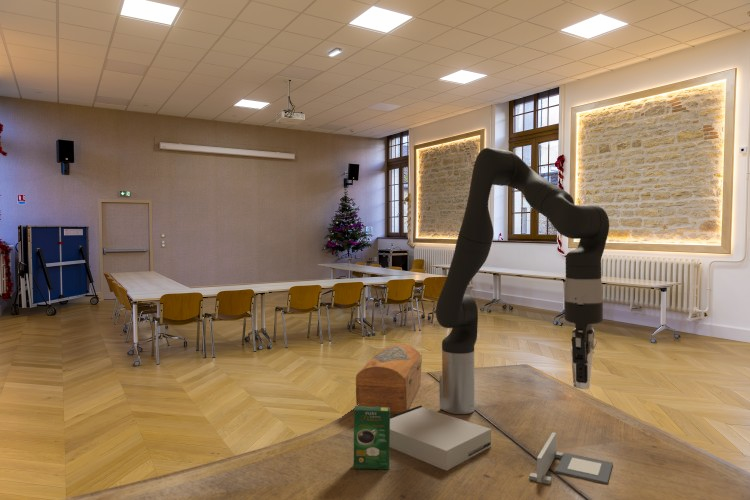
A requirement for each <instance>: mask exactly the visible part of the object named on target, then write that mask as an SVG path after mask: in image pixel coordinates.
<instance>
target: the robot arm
mask: <svg viewBox="0 0 750 500" xmlns="http://www.w3.org/2000/svg"><path fill="white" fill-rule="evenodd" d="M493 185H494V186H500V187H503V186H506V187H510V188H512V189H515V190H517V191H519V192H521V193H522V194H523V197H524V199H525V201H526V202H527V203H528V204H529V206H530V207H531V208H532V209H534V210H535V211H537V212H538V213H539V214H541V215H542V216H544V217H545V218H547V219H548V222H550V224H551V225H552V226H553V227H554V229H555V230H556V231H557V232H558V233H559V234H560V235H561V236H564V237H566V238H568V239H574V240H578V239H579V242H578V246H577V248H575V249H573V250H570V251H568V252H567V254H566V256H565V281H564V288H563V289H564V295H563V297H564V320H565V321H566V322H568V323H571V324H572V323H573V324H574V325H575V328H574V330H572V332H571V339H570V340H571V347H572V351H573V363H575V364H576V381H577V382H580V383H587V381H588V363H589V362H588V355H589V354H590V353H591V348H592V349H593V348H594V346H595V341H594V339H595V337H596V331H595V328H594V327H592V325H597V324H601V323H602V322H603V320H604V319H603V318H604V314H603V313H604V312H603V311H604V307H603V305H604V304H603V303H604V299H603V297H604V292H603V289H604V288H603V283H602V257H603V254H604V250H605V248H606V243H607V240H608V236H609V231H610V219H609V215H608V213H607V212H606V211H605V209H604V208H603V207H601V206H597V205H583V204H582V205H580V204H579V205H577V204H575V201H574V198H573V197H572V195H571V194H569V192H567V191H566V190H564V189H562V188H560V187H559V186H557V185H556V184H554V183H552V182H551V181H549V180H547V179H546V178H544V177H542V176H541V175H540V174H538V173H537V172H536V171H535V170H534V169H533V168H531V167H530V166H529V165H528V164H527V163H526V162H525V161H524V160H523V159H522V158H521V157H520V156H519V155H517V154H516V153H514V152H513V151H510V150H507V149H500V148H494V147H484V148H483V149H481V151H479V153H478V154H477V156H476V158H475V161H474V164H473V169H472V173H471V180H470V186H469V192H468V198H467V202H466V206H465V209H464V210H465V211H464V215H463V218H462V223H461V225H460V226H461V227H460V229H459V232H458V237H457V240H456V243H455V247H454V252H453V255H452V259H451V263H450V266H449V269H448V271H447V275H446V278H445V280H444V283H443V286H442V289H441V292H440V294H439V296H438V299H437V302H436V307H435V317H436V320H437V323H438V324H439V325H440V326H441V327H442V328H446V329H451V330H450V332H449V334H448V335H447V336H446V337H445V338H443V339H442V342H441V368H442V369H441V371H442V372H441V375H440V376H439V410H443V411H444V412H446V413H449V414H454V415H467V414H472V413H474V411H475V410H476V409H475V408H476V407H475V406H476V405H475V404H476V400H475V399H476V397H475V394H476V393H475V392H476V391H475V385H476V384H475V383H476V382H475V344H476V342H477V341H478V325H479V323H478V322H479V320H478V319H479V310H478V305H477V302H476V300H475V299H474V297H473V296H472V295H470V294H468V293H466V291H467V288H468V285H469V284H470V283H471V281H472V279H474V277H475V276H476V275H477V274H478V272H479V271H480V270H481V269H482V268H483V266H484V264H485V262H486V261H487V259H488V257H489V254H490V251H491V247H492V243H493V241H494V234H495V233H494V226H493V222H492V217H491V215H490V211H489V200H490V195H491V190H492V187H493ZM586 349H587V350H586ZM594 349H595V348H594ZM594 353H595V352H594V350H593V354H594ZM578 354H581V355H583V358H578Z"/></svg>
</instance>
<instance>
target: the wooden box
mask: <svg viewBox="0 0 750 500" xmlns="http://www.w3.org/2000/svg"><path fill="white" fill-rule="evenodd" d="M422 355H423V354H421V353H420V352H419V350H417V348H415V347H413V346H411V345H410V344H405V343H393V344H390V345H388V346H386V347H384V348H382V349H381V350H379V352H377V354H375V355H373V357H372V358H371V359H370V360H369V361H368V362H367V363H366V364H365V366H364V367H362V368H361V369H360V370H359V371H358V372H357V374H356V375H355V401H356V402H355V403H356V406H357V405H358V404H359V405H358V406H367V407H390V415H396V414H398V413H401V412H404V411H407V410H409V409H411V406H412V403H413V402H414V399H415V398H416V395H417V394H418V392H419V390H420V387H421V384H422V383H421V380H422V362H423V361H422V359H423V357H422Z"/></svg>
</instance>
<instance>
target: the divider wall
mask: <svg viewBox="0 0 750 500" xmlns="http://www.w3.org/2000/svg"><path fill="white" fill-rule="evenodd" d="M563 455H564V452H561V451H557V432H554V431H552V433H551V434H550V436H549V437H548V439H547V440H546V442H545V444H544V446H543V447H542V449H541V451H539V454H538V455H537V457H536V472H530V473H529V477H528V478H529V479H528V480H531V481H534V482H536V483H541V484H546V485H550V484H551V483H552V477H551V476H549V475H548V476H547V475H546V474H547V473H548V471H549V469H550V467H551V465H552V463H553V462H554V459H559V460H561V459H562V457H563Z"/></svg>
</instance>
